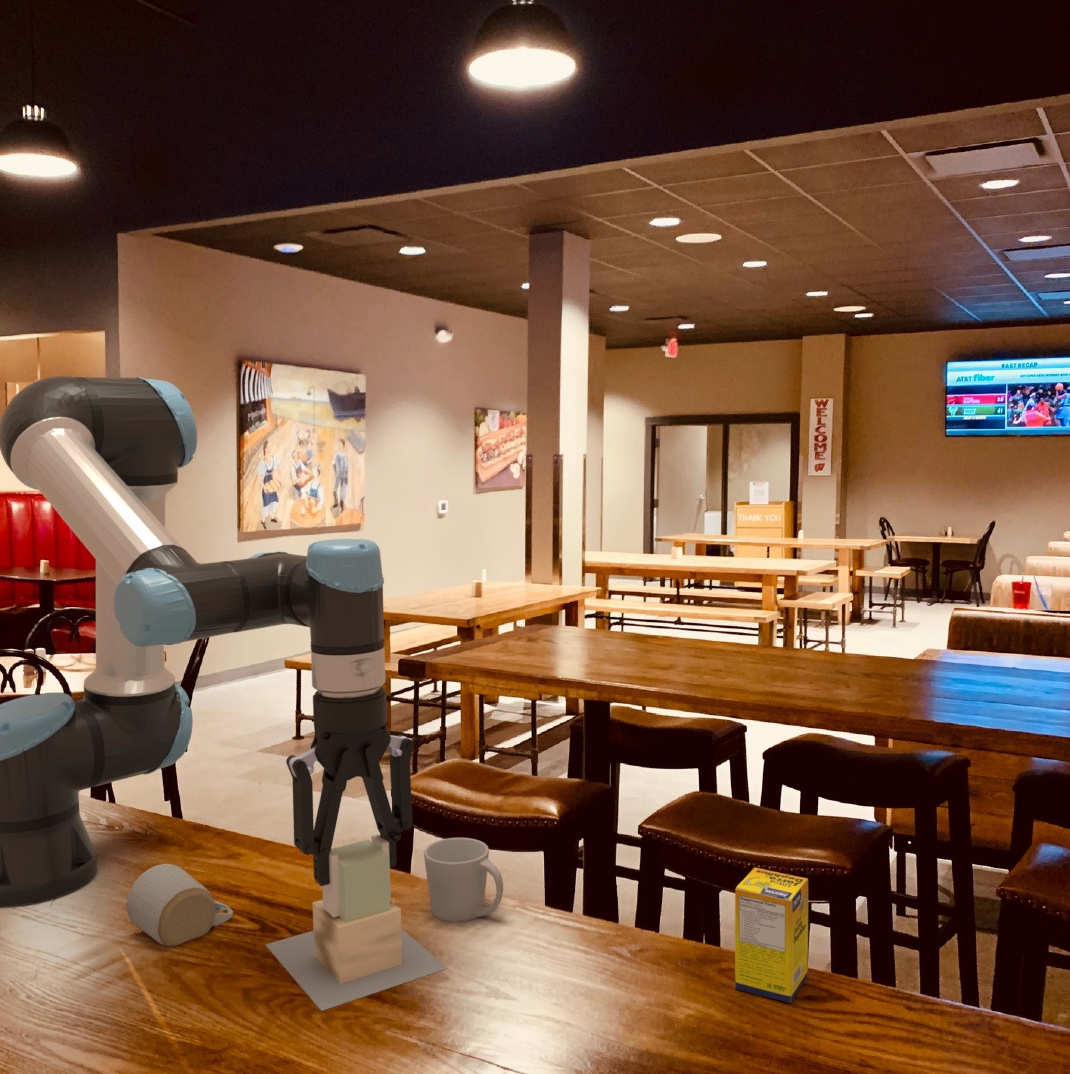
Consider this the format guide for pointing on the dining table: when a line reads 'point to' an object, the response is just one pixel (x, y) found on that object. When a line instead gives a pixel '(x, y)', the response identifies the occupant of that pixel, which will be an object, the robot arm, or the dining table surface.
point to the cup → (460, 879)
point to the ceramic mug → (173, 906)
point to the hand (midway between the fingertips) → (357, 904)
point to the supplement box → (771, 934)
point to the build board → (331, 993)
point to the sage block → (362, 880)
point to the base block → (357, 943)
